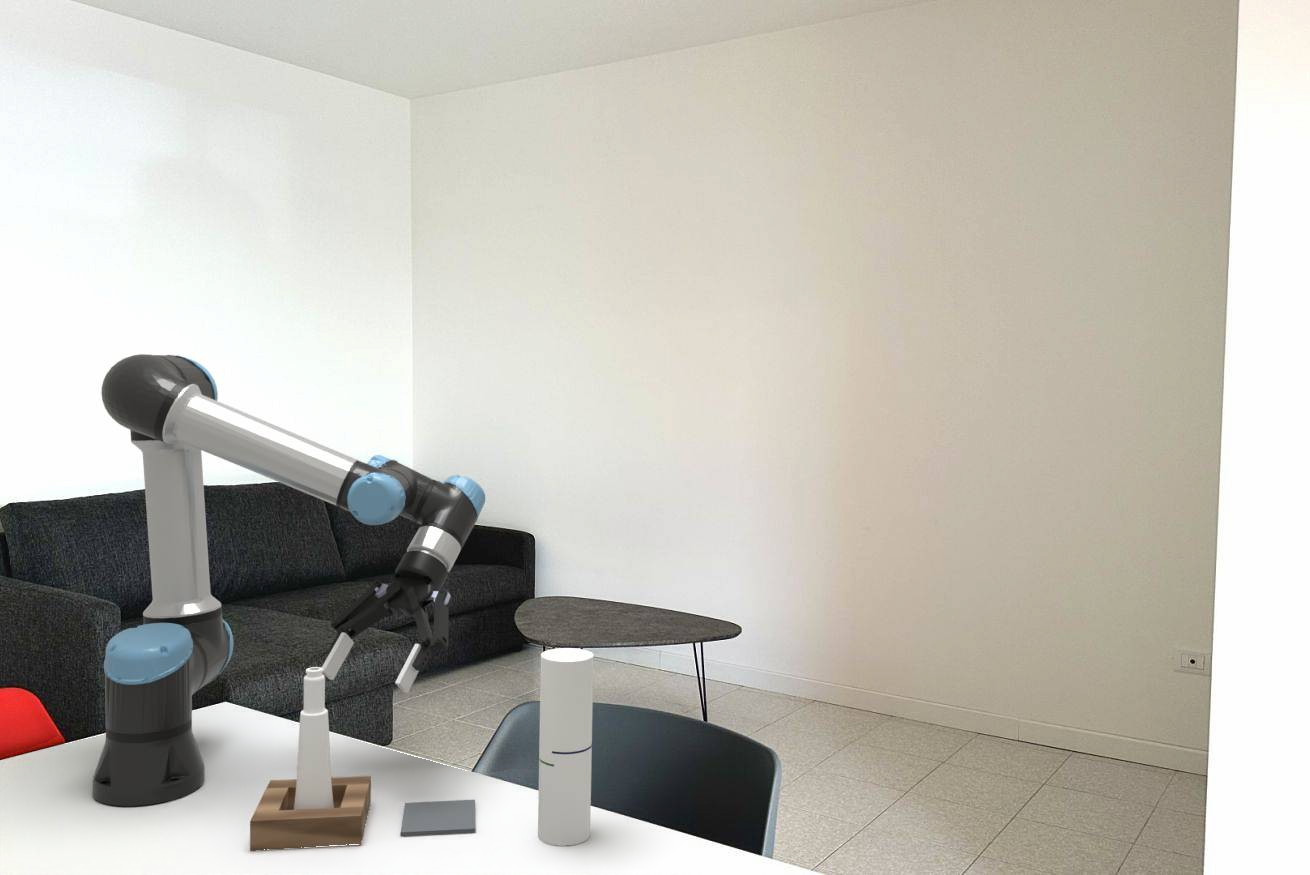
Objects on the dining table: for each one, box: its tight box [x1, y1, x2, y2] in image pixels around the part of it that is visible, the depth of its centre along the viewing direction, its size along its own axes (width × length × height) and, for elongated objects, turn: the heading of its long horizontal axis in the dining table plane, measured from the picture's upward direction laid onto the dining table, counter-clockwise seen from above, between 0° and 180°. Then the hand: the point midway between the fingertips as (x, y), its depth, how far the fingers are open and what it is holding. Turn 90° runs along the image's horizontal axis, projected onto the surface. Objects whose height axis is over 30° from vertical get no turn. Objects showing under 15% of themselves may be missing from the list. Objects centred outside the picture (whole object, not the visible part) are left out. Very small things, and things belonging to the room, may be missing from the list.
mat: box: [399, 799, 476, 837], centre depth 149 cm, size 10×10×1 cm
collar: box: [249, 775, 372, 852], centre depth 146 cm, size 14×14×4 cm
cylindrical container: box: [537, 647, 594, 847], centre depth 144 cm, size 7×7×25 cm
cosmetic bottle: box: [294, 666, 334, 810], centre depth 145 cm, size 6×6×22 cm
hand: (363, 681), depth 153 cm, fingers open, 13 cm apart
